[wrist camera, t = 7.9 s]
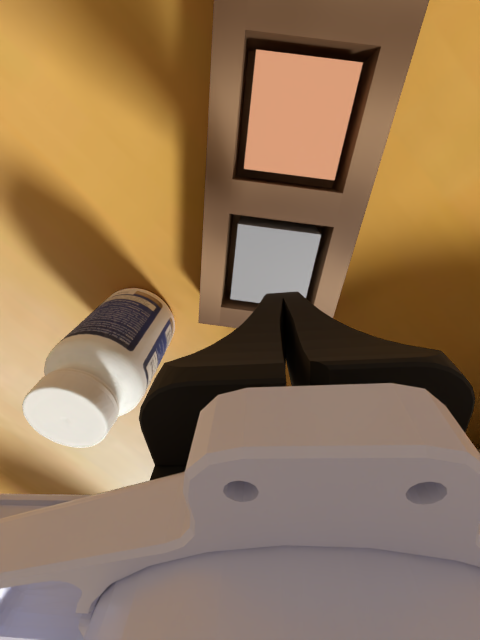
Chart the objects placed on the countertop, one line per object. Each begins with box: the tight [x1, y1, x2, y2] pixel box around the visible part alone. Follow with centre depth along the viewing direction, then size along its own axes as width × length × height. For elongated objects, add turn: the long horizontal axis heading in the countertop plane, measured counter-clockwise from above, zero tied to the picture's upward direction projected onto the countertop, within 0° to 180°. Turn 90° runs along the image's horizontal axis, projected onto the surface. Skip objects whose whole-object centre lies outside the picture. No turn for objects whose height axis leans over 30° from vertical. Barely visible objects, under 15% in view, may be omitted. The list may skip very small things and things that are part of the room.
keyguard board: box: [199, 0, 429, 328], centre depth 13 cm, size 29×8×3 cm, turn 174°
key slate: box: [230, 216, 321, 303], centre depth 18 cm, size 4×4×2 cm
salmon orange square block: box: [244, 49, 363, 180], centre depth 14 cm, size 4×4×2 cm
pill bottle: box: [23, 288, 175, 448], centre depth 18 cm, size 5×5×10 cm
